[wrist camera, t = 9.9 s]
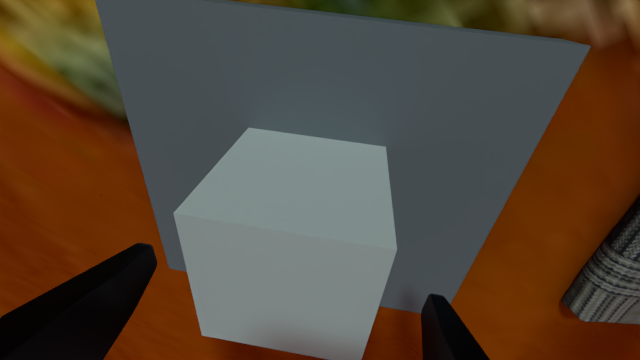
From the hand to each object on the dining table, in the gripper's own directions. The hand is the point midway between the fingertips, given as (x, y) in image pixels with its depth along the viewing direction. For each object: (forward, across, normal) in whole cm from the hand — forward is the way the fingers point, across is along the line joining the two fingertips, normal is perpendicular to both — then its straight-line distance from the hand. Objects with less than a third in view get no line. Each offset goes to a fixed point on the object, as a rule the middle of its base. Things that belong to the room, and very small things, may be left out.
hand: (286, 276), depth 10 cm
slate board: (+6, 0, 0) cm, 6 cm away
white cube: (+4, 0, 0) cm, 5 cm away
